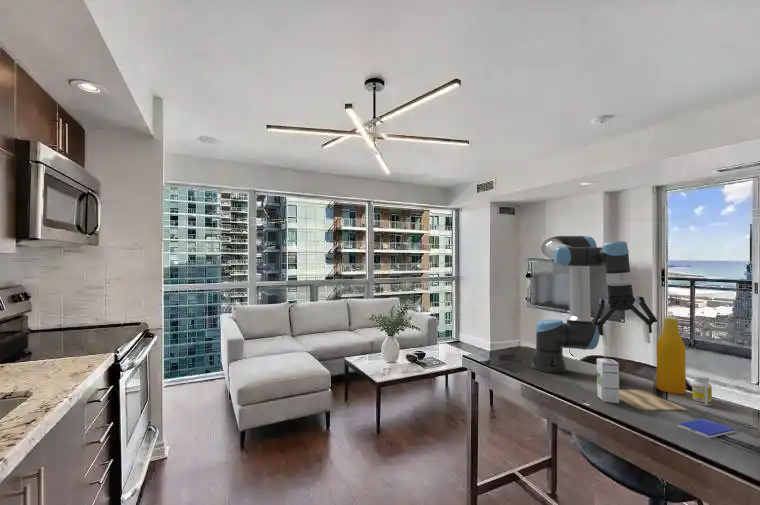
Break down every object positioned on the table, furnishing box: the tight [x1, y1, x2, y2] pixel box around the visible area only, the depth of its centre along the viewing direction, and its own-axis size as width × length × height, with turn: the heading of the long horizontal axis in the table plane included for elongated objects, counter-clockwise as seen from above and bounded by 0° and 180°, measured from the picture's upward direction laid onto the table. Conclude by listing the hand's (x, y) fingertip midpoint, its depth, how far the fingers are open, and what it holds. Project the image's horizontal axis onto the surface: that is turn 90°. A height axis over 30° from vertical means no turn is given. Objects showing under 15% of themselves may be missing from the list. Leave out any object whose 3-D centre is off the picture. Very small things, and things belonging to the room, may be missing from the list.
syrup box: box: [596, 357, 620, 404], centre depth 136 cm, size 6×6×14 cm
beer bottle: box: [656, 317, 687, 395], centre depth 149 cm, size 9×9×29 cm
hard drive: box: [677, 418, 735, 439], centre depth 112 cm, size 2×8×12 cm
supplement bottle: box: [691, 374, 713, 407], centre depth 135 cm, size 5×5×10 cm
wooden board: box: [619, 389, 688, 412], centre depth 137 cm, size 17×20×1 cm
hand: (625, 343), depth 132 cm, fingers open, 13 cm apart
